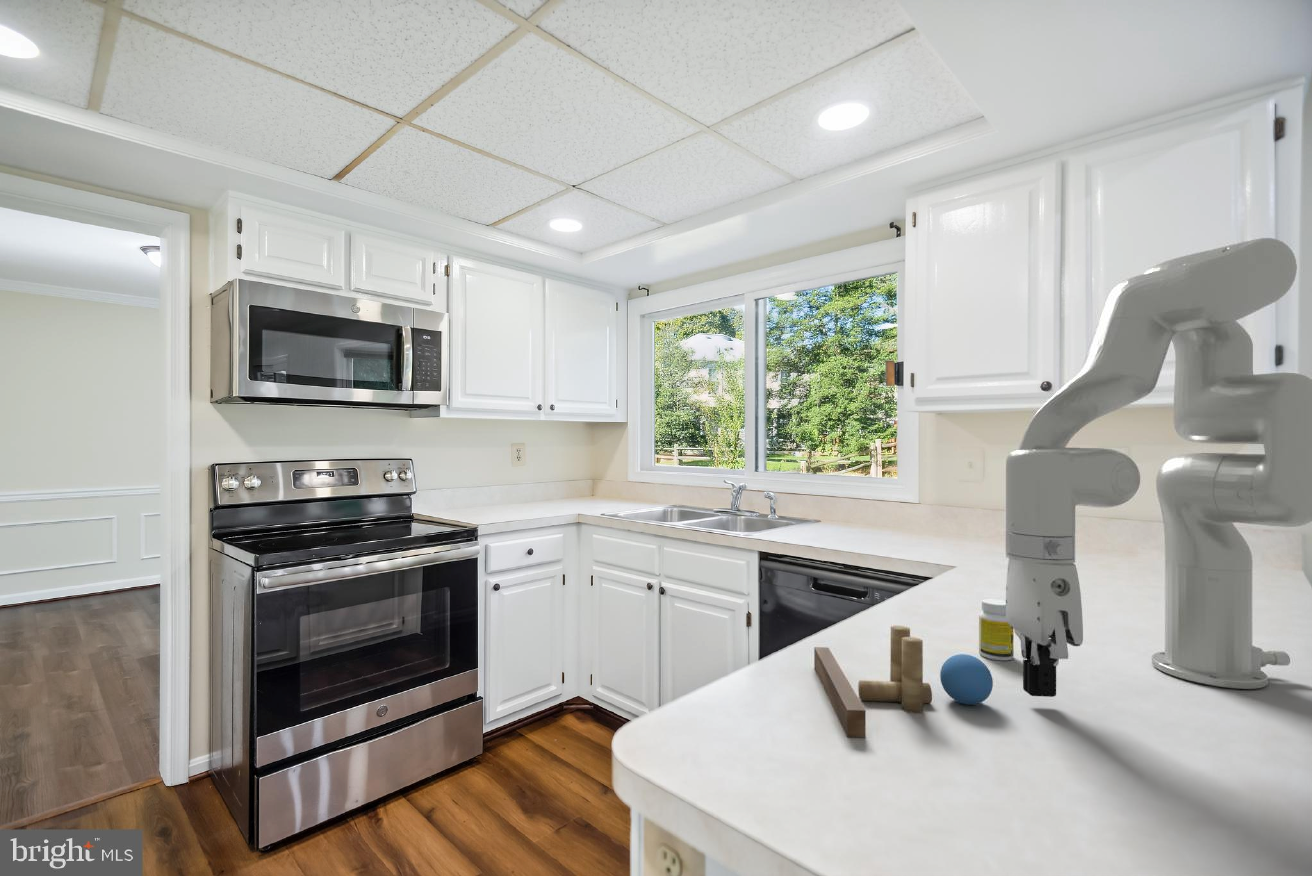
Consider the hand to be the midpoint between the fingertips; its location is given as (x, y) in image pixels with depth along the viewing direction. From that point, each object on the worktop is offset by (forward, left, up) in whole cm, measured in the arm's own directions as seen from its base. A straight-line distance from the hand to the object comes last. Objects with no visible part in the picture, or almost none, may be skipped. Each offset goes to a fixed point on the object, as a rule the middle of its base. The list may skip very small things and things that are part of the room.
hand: (1039, 693), depth 80 cm
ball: (+9, 0, +2) cm, 9 cm away
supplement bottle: (-3, -19, -2) cm, 19 cm away
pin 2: (+16, +3, -2) cm, 17 cm away
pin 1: (+16, -2, -2) cm, 17 cm away
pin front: (+14, 0, 0) cm, 14 cm away
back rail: (+25, 0, -2) cm, 25 cm away
